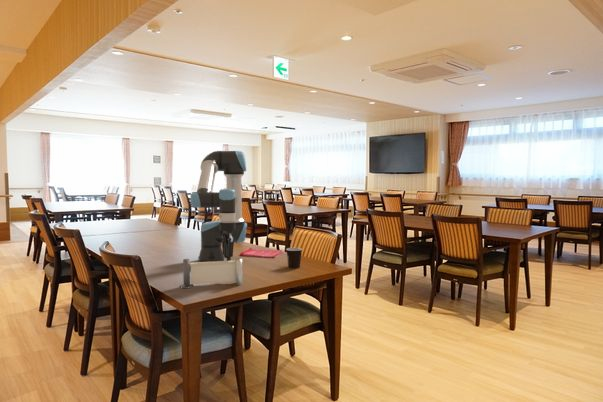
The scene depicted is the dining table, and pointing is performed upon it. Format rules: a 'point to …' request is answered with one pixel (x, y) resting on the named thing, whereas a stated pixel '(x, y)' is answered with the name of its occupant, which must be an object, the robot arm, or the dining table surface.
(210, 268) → the gate
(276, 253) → the dish towel
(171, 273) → the dining table surface
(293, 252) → the coffee mug
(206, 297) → the dining table surface
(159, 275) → the dining table surface
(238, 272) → the gate posts
